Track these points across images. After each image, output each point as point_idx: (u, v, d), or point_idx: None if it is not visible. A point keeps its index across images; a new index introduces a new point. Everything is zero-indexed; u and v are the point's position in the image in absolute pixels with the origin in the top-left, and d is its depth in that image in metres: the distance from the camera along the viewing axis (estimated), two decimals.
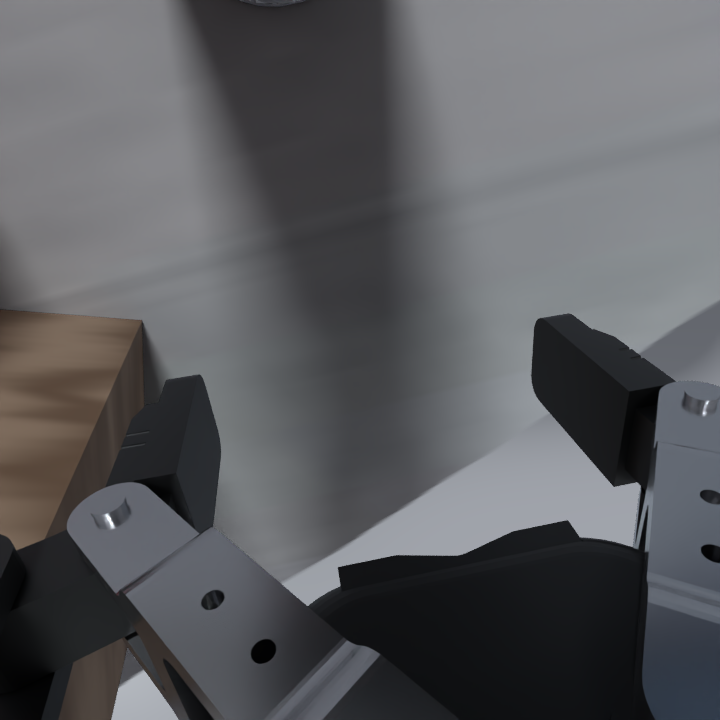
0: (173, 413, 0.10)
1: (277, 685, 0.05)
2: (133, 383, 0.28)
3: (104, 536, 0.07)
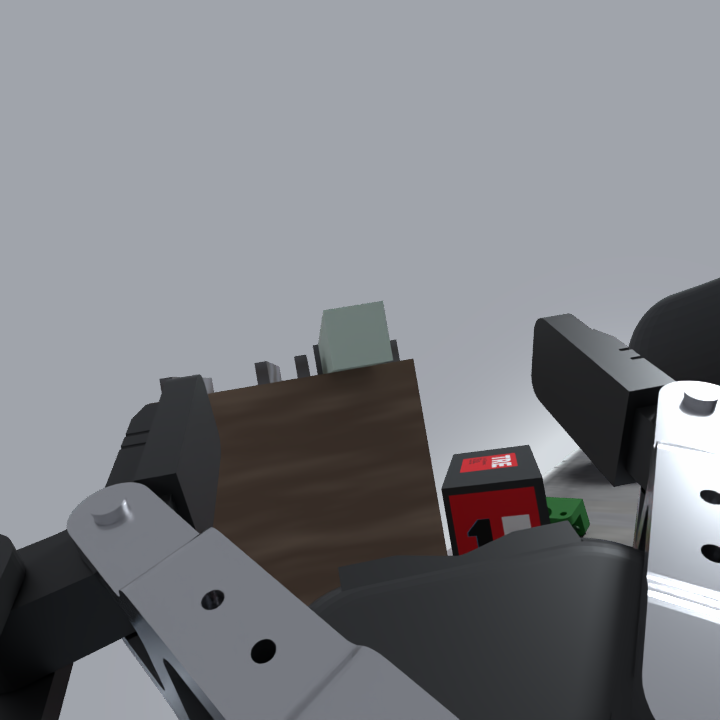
0: (173, 413, 0.10)
1: (277, 685, 0.05)
2: None
3: (104, 536, 0.07)
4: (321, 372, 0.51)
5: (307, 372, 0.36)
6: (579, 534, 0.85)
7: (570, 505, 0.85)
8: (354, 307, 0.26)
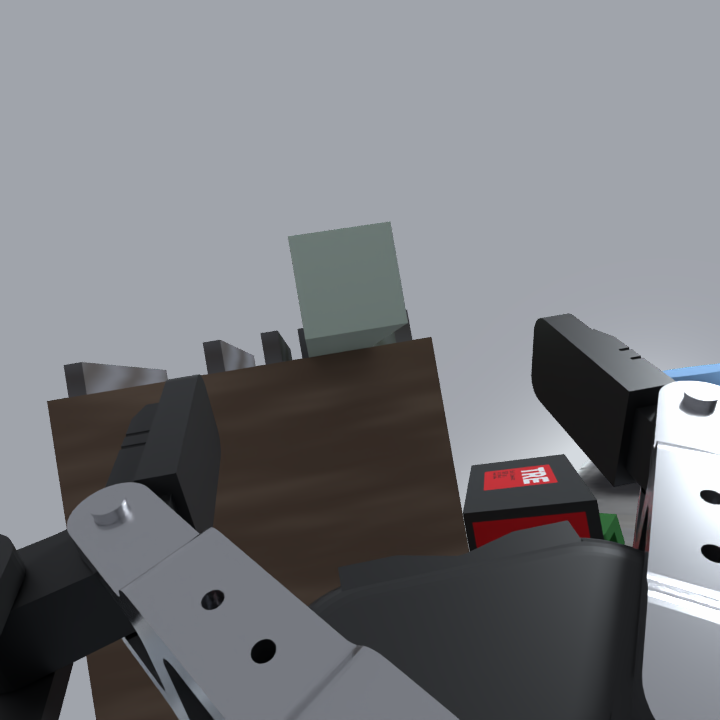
0: (173, 413, 0.10)
1: (277, 685, 0.05)
2: None
3: (104, 536, 0.07)
4: None
5: (279, 356, 0.25)
6: None
7: (602, 522, 0.73)
8: (341, 232, 0.15)
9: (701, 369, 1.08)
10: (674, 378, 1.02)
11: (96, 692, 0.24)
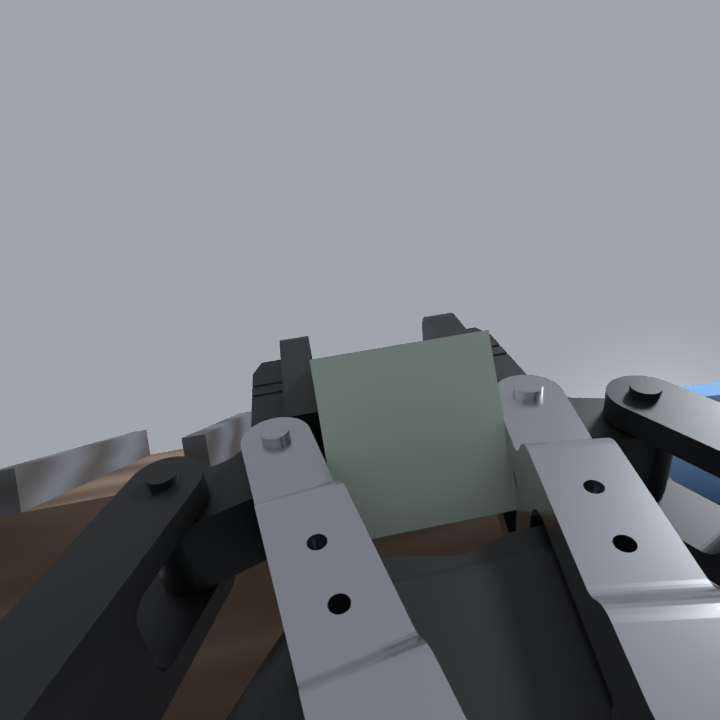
0: (298, 366, 0.11)
1: (339, 638, 0.05)
2: None
3: (280, 457, 0.09)
4: None
5: None
6: None
7: None
8: (404, 350, 0.09)
9: None
10: None
11: None
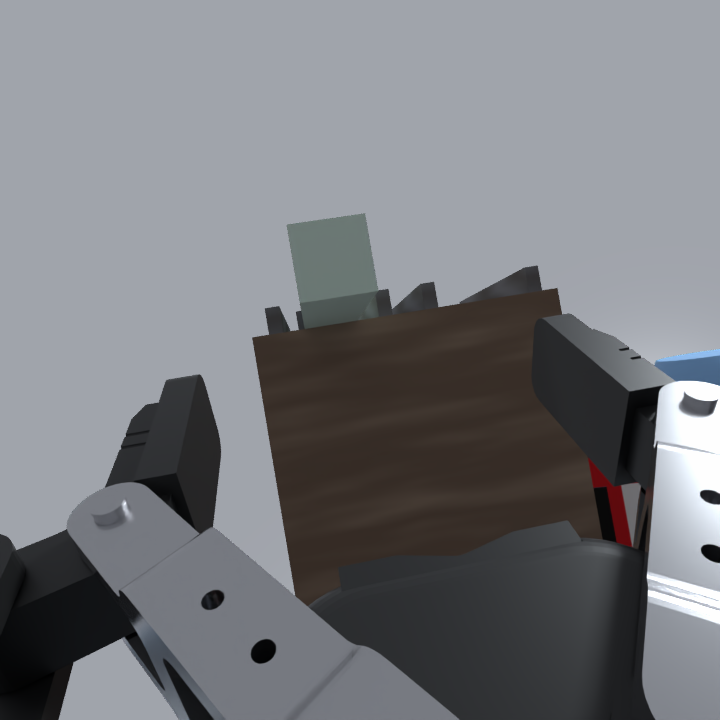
0: (173, 413, 0.10)
1: (277, 684, 0.05)
2: None
3: (104, 536, 0.07)
4: None
5: (436, 302, 0.31)
6: None
7: None
8: (327, 221, 0.20)
9: None
10: (698, 359, 1.08)
11: (295, 571, 0.29)
